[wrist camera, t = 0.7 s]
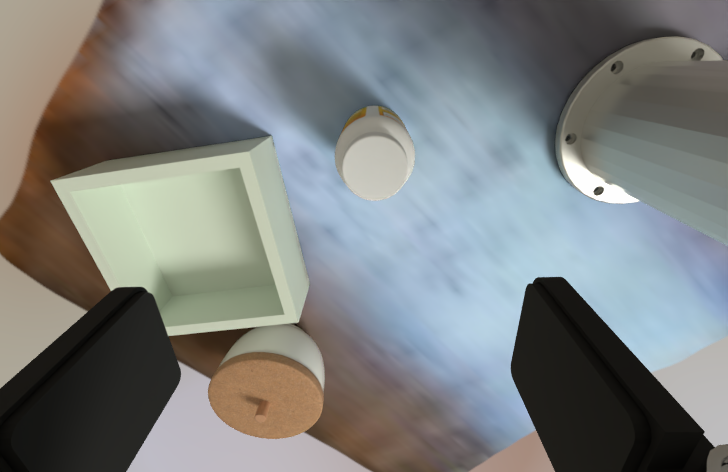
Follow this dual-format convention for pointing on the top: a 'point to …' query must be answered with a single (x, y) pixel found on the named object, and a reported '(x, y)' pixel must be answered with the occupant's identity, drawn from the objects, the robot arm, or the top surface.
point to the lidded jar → (270, 383)
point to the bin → (195, 233)
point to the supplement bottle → (374, 153)
